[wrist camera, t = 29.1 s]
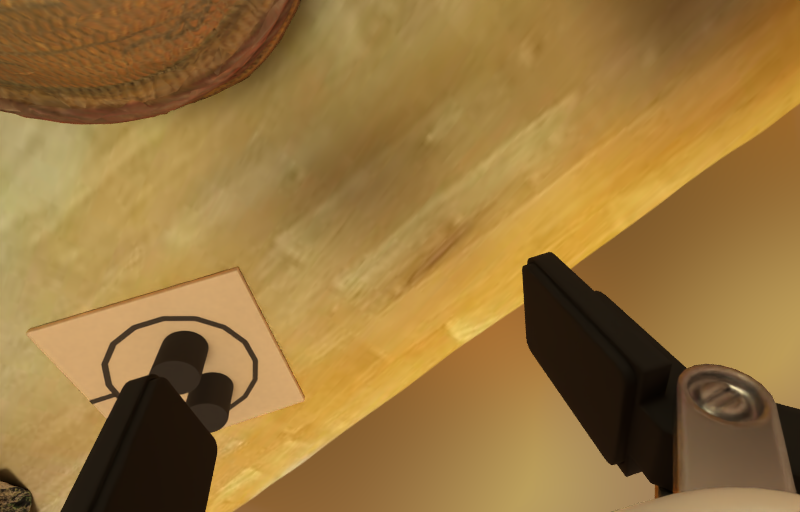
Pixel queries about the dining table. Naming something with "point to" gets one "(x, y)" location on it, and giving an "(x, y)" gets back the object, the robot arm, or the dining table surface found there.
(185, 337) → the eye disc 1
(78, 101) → the basket
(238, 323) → the drawing pad
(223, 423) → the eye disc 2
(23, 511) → the landscape model
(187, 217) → the dining table surface
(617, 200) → the dining table surface
